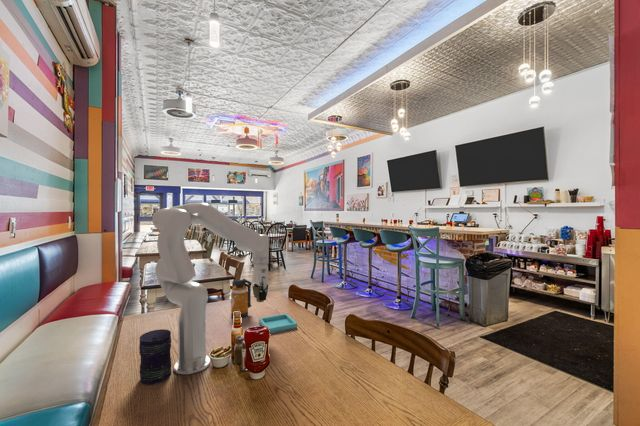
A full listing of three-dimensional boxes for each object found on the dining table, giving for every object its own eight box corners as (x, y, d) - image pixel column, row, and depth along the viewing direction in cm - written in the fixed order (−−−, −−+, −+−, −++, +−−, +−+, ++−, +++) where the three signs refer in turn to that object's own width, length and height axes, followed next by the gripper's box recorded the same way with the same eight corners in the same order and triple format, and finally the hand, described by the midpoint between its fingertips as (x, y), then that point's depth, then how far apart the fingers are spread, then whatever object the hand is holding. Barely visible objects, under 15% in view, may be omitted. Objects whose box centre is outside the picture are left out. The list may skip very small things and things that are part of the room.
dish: (297, 328, 145) (297, 323, 145) (267, 334, 138) (267, 329, 138) (286, 318, 159) (286, 313, 158) (258, 323, 152) (258, 318, 152)
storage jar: (143, 372, 107) (142, 331, 106) (173, 367, 110) (172, 327, 110) (136, 388, 97) (136, 343, 97) (169, 381, 101) (169, 338, 101)
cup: (264, 304, 134) (264, 287, 134) (249, 303, 136) (249, 286, 136) (270, 299, 142) (270, 283, 142) (256, 298, 143) (256, 282, 143)
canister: (230, 314, 165) (229, 278, 164) (250, 311, 169) (249, 276, 169) (232, 319, 157) (232, 282, 156) (253, 316, 161) (253, 280, 161)
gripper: (274, 262, 133) (273, 302, 133) (263, 257, 148) (262, 292, 148) (257, 264, 129) (257, 304, 129) (248, 258, 145) (247, 294, 145)
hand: (260, 297), depth 139 cm, fingers closed on cup, 6 cm apart
